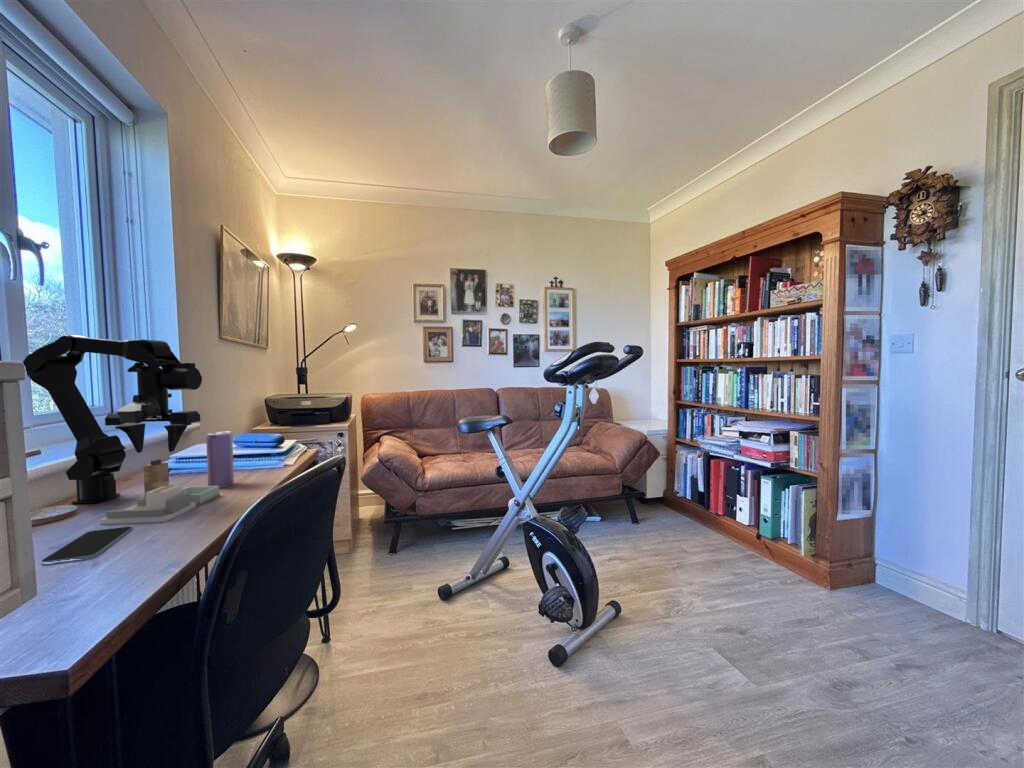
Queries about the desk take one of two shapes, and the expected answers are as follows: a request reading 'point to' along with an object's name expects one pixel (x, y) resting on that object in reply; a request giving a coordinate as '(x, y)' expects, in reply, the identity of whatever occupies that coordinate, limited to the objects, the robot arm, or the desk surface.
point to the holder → (201, 493)
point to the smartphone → (89, 544)
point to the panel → (150, 511)
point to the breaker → (161, 496)
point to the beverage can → (220, 459)
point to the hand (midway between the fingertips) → (155, 452)
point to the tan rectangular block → (155, 475)
